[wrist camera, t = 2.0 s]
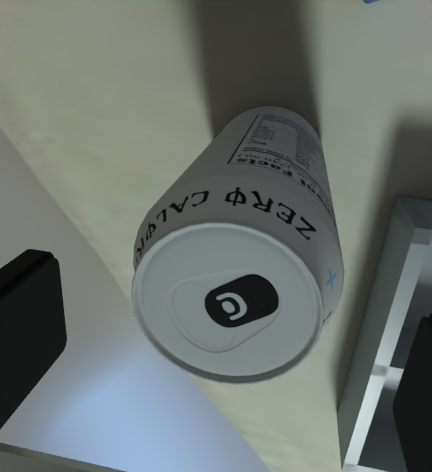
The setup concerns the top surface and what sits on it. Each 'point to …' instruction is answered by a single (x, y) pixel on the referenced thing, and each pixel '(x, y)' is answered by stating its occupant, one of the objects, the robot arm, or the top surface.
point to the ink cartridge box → (369, 1)
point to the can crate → (387, 341)
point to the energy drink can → (242, 254)
